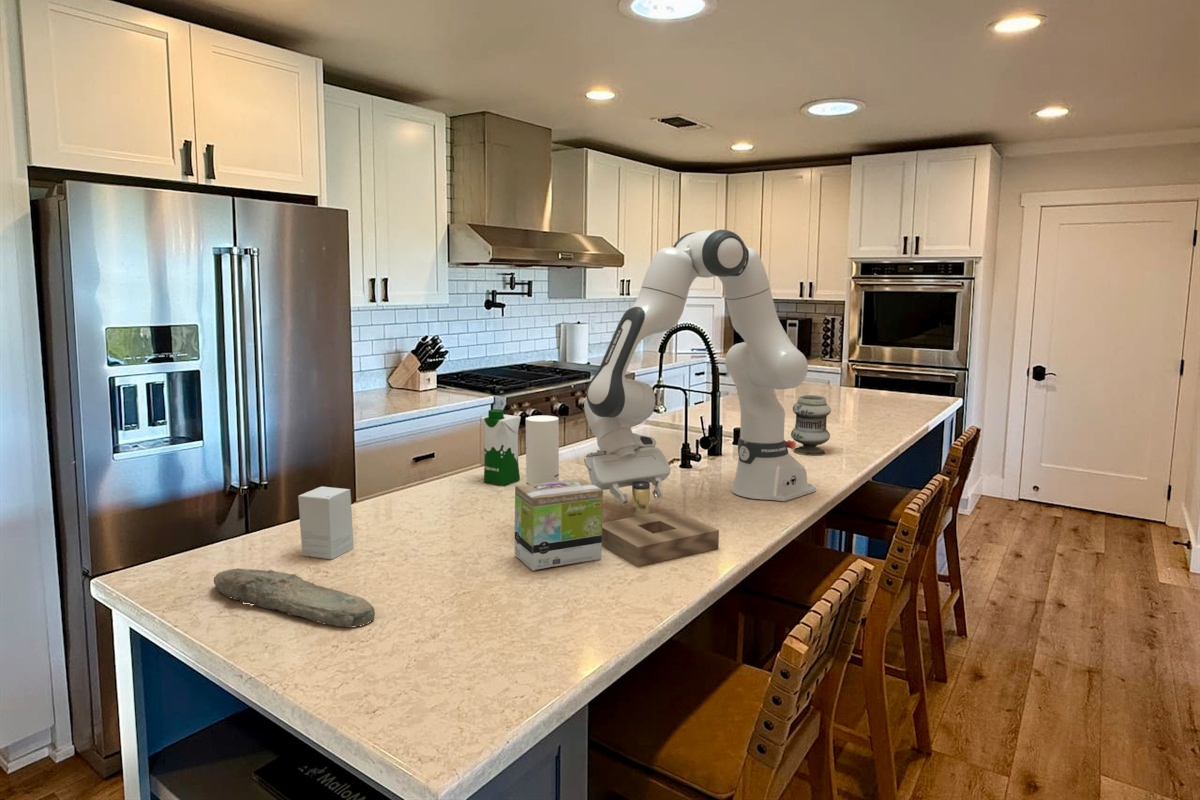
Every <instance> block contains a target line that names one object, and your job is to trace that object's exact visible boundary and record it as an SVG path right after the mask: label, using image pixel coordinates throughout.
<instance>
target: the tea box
mask: <svg viewBox="0 0 1200 800" xmlns="http://www.w3.org/2000/svg"><path fill="white" fill-rule="evenodd" d="M603 500H604V490H602V489H600V488H598V487H597V486H595V485H593V484H592V483H591V482H589V481H587V480H586V479H584V478H582V477H581V478H571V479H564V480H562V479H561V480H559V481H553V482H545V483H536V484H527V485H526V484H519V485H515V489H514V555H515V556H516V557H517V558H518V559H519V560H520V561H521V562H522V563H523V564H524V565H525V566H526V567H527V568H528V569H530V570H531V571H532V572H534V571H538V570H542V569H548V568H551V567H552V568H553V567H559V566H567V565H572V564H579V563H586V562H592V561H593V560H594V561H599V560H598V559H600V560H601V559H602V548H603V546H602V523H603V511H604V509H603V506H604V505H603V503H604V501H603Z"/></svg>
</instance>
